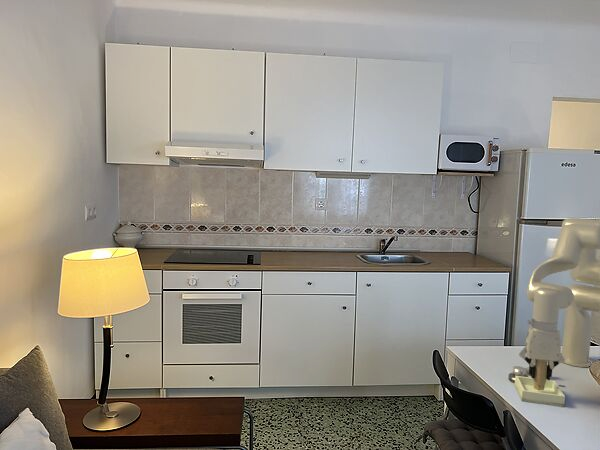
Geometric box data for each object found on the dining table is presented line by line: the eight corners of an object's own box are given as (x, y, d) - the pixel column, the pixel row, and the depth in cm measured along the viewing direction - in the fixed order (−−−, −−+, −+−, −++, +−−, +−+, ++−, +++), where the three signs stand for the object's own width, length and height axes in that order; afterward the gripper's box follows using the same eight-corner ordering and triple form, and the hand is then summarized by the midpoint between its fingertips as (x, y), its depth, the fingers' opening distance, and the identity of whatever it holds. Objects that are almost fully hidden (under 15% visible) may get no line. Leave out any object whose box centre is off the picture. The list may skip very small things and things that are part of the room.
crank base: (506, 375, 177) (507, 371, 176) (562, 382, 172) (562, 378, 172) (510, 383, 170) (510, 379, 170) (568, 390, 165) (568, 386, 165)
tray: (514, 385, 168) (515, 375, 168) (553, 390, 165) (554, 380, 165) (521, 401, 156) (522, 390, 156) (563, 406, 153) (564, 396, 153)
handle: (549, 393, 157) (553, 350, 155) (527, 389, 160) (531, 346, 158) (549, 388, 161) (553, 345, 160) (528, 383, 164) (532, 341, 163)
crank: (519, 379, 169) (520, 366, 169) (509, 374, 173) (510, 361, 173) (547, 375, 174) (548, 362, 174) (537, 370, 178) (539, 357, 178)
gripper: (519, 325, 157) (515, 379, 159) (575, 331, 153) (570, 386, 155) (515, 319, 164) (511, 370, 166) (568, 324, 160) (564, 376, 162)
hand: (539, 377), depth 160 cm, fingers closed on handle, 4 cm apart
